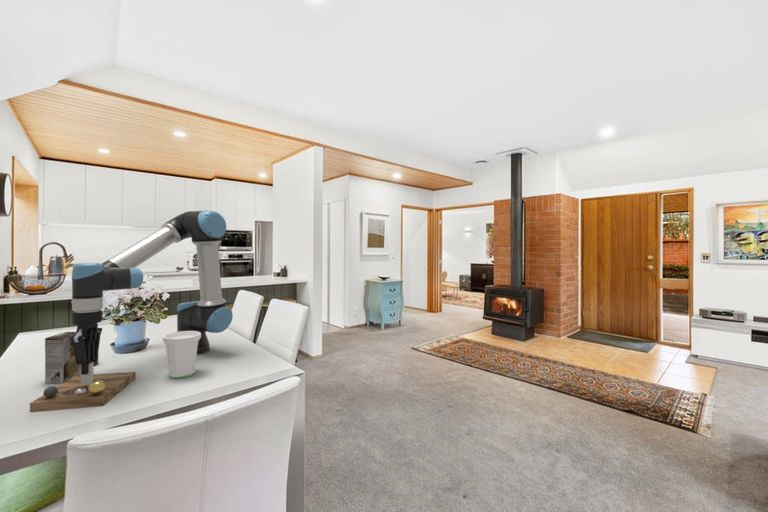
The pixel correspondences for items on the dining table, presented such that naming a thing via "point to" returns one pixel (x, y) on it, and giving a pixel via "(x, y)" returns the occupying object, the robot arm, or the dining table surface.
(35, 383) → the dining table surface
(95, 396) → the wooden board
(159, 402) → the dining table surface
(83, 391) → the steel ball
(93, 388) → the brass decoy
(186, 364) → the cup
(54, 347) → the coffee box
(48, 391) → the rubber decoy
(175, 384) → the dining table surface
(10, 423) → the dining table surface
